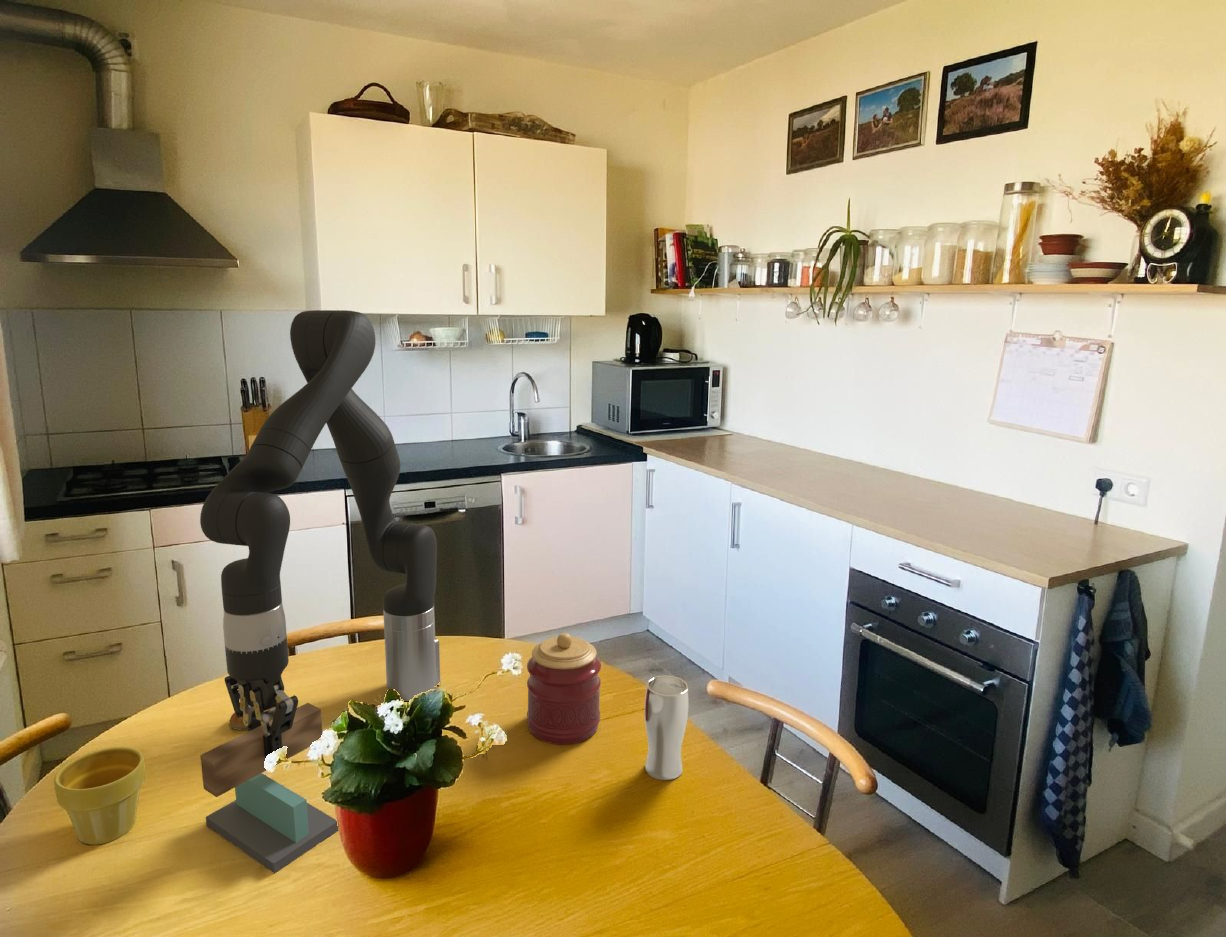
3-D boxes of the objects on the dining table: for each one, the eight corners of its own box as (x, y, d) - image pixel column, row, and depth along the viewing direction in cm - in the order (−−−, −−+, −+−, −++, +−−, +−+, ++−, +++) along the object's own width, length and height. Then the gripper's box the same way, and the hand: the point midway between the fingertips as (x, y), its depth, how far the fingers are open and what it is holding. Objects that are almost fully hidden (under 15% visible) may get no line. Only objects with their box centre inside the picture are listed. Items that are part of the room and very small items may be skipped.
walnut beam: (310, 733, 113) (307, 702, 111) (322, 739, 111) (320, 708, 110) (203, 788, 99) (200, 754, 98) (216, 797, 98) (213, 762, 97)
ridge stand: (270, 789, 116) (267, 748, 114) (338, 830, 107) (335, 786, 106) (206, 825, 108) (201, 782, 106) (274, 873, 99) (270, 827, 98)
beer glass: (662, 788, 118) (666, 701, 115) (633, 766, 124) (636, 682, 120) (694, 771, 123) (698, 687, 119) (664, 751, 128) (668, 670, 125)
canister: (598, 747, 129) (600, 652, 125) (522, 745, 129) (521, 649, 125) (601, 707, 141) (603, 619, 137) (531, 704, 142) (531, 617, 138)
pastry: (233, 738, 129) (231, 718, 128) (226, 720, 134) (224, 701, 134) (291, 722, 134) (290, 702, 133) (283, 705, 140) (281, 686, 139)
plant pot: (157, 798, 113) (150, 739, 111) (143, 844, 104) (135, 781, 102) (75, 813, 110) (66, 753, 107) (53, 862, 100) (42, 797, 98)
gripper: (313, 640, 100) (321, 756, 104) (251, 614, 108) (260, 723, 112) (261, 661, 94) (271, 784, 98) (199, 633, 102) (210, 747, 105)
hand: (265, 751), depth 105 cm, fingers closed on walnut beam, 3 cm apart
